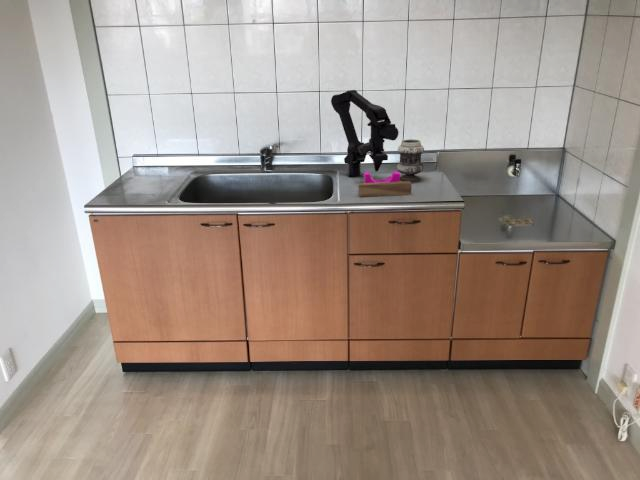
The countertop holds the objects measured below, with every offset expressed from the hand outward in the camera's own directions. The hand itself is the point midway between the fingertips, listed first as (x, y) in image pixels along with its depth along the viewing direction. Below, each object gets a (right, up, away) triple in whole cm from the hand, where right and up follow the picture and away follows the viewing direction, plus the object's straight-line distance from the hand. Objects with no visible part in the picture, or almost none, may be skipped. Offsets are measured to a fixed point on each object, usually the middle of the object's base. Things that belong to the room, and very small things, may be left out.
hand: (376, 171), depth 230 cm
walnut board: (+2, -12, -15) cm, 19 cm away
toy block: (+2, -9, -6) cm, 11 cm away
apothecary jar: (+16, -3, +5) cm, 17 cm away
